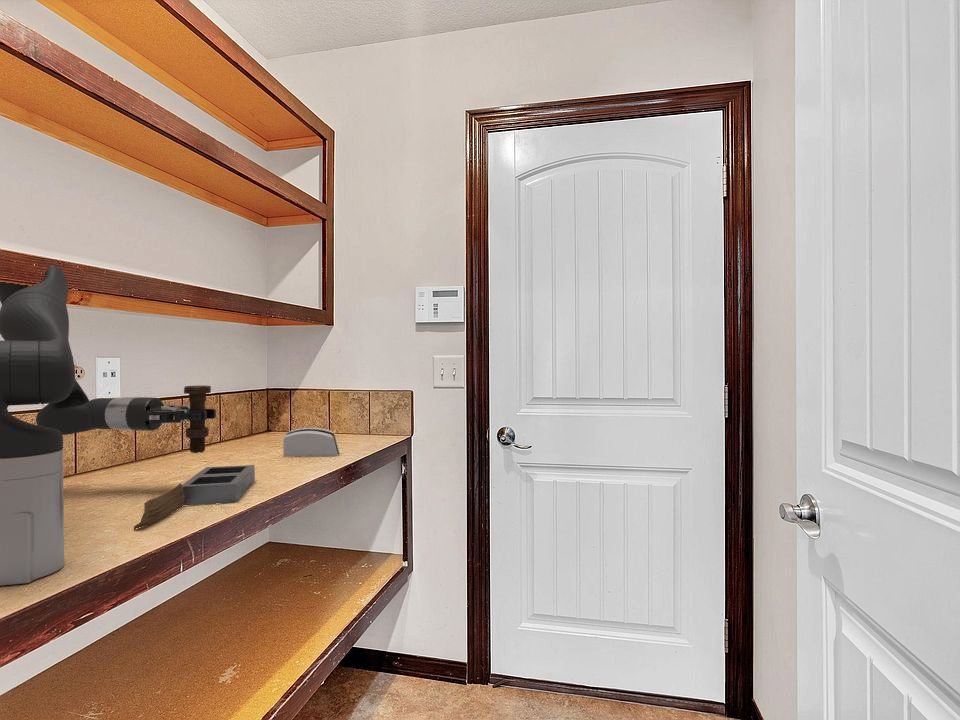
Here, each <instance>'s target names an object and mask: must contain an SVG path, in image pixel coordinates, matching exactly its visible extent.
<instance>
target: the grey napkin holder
mask: <svg viewBox="0 0 960 720" xmlns="http://www.w3.org/2000/svg"><path fill="white" fill-rule="evenodd" d="M282 453H283V454H282V455H283V456H305V457H338V455H339V454H340V447H339V446H338V442H337V438H336V433H335V432H334V431H332V430H330V429H326V428H320V427H302V428H296V429H293V430H290V431H287V433H285V435H284V437H283V451H282ZM283 456H282V457H283Z"/></svg>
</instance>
